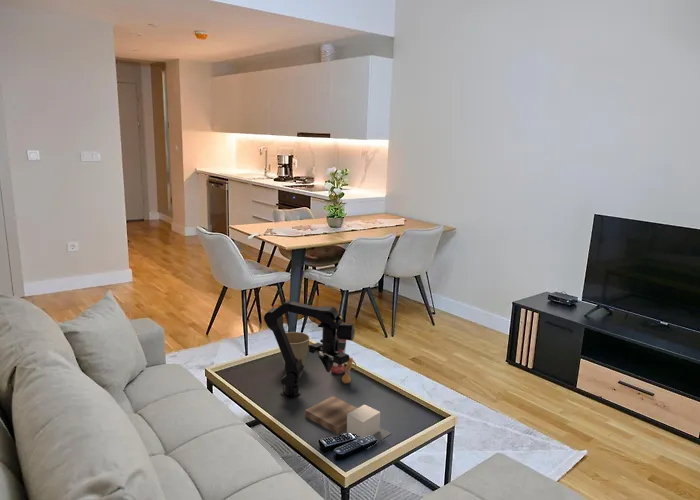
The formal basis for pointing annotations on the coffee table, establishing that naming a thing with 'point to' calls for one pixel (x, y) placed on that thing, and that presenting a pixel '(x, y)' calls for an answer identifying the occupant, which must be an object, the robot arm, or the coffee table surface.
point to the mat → (376, 435)
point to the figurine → (346, 377)
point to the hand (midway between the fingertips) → (328, 371)
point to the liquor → (336, 367)
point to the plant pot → (298, 344)
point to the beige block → (363, 421)
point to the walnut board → (330, 414)
